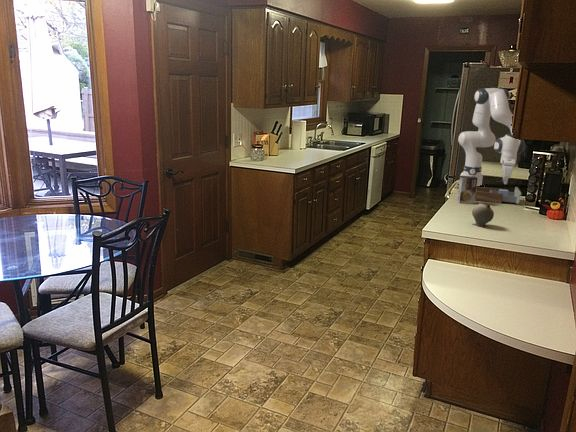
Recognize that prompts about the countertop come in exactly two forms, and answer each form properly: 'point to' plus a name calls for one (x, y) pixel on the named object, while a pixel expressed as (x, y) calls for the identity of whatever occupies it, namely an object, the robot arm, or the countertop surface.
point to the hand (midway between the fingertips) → (504, 182)
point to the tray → (510, 196)
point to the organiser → (487, 195)
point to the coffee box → (467, 189)
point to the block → (503, 192)
